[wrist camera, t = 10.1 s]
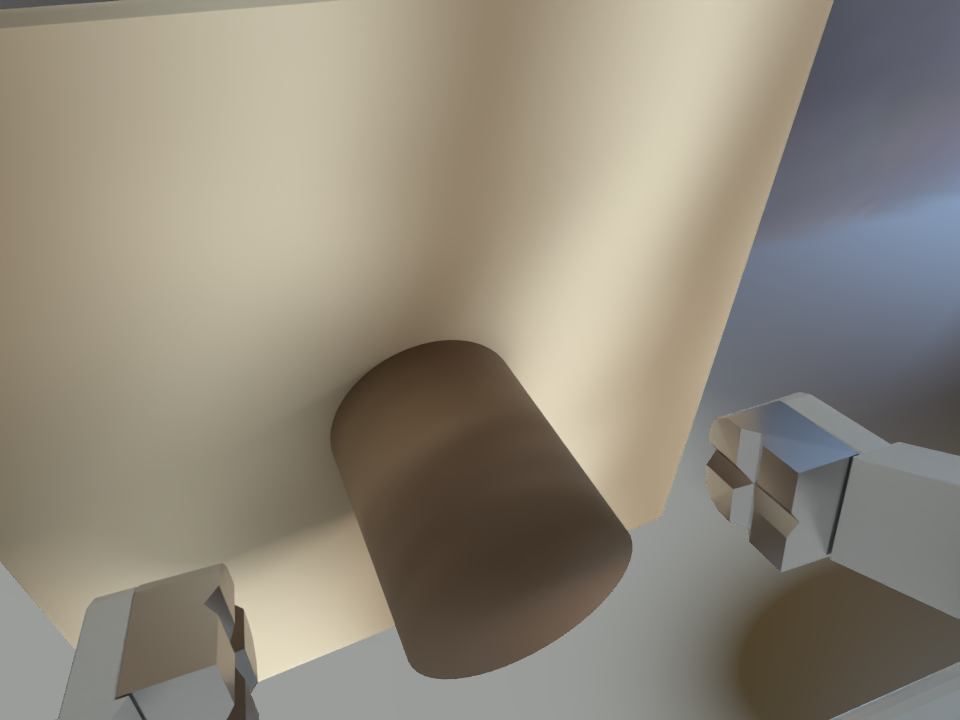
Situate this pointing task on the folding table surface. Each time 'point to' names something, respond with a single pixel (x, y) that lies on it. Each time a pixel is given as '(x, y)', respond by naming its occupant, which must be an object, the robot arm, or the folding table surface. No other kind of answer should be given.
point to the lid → (371, 299)
